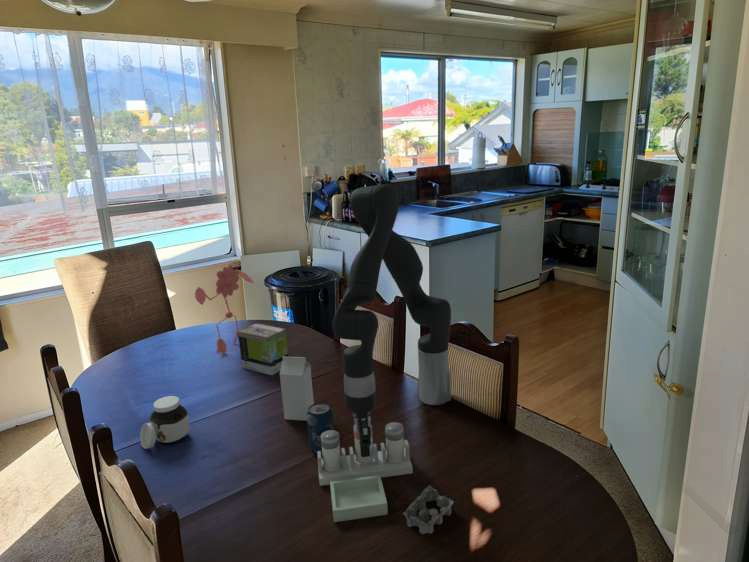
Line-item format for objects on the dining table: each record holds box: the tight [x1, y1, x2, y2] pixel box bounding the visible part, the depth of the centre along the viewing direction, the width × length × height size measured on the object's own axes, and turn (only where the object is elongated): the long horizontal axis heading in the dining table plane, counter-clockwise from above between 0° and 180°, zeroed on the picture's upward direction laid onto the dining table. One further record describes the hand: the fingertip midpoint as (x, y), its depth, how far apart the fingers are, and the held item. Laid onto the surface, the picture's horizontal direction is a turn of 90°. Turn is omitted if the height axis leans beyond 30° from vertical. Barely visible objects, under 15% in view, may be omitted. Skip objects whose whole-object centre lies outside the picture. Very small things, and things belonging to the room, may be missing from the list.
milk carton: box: [279, 356, 315, 422], centre depth 158 cm, size 7×7×19 cm
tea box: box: [237, 322, 289, 376], centre depth 193 cm, size 15×10×15 cm
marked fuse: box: [353, 423, 374, 463], centre depth 131 cm, size 5×5×9 cm
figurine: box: [194, 263, 254, 359], centre depth 205 cm, size 15×26×35 cm, turn 148°
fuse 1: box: [321, 429, 342, 473], centre depth 131 cm, size 5×5×9 cm
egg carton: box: [402, 484, 455, 535], centre depth 116 cm, size 11×8×4 cm
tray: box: [329, 475, 389, 523], centre depth 121 cm, size 12×10×3 cm
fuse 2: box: [384, 421, 405, 464], centre depth 133 cm, size 5×5×9 cm
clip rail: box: [316, 439, 414, 487], centre depth 133 cm, size 23×8×6 cm, turn 98°
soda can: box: [306, 402, 335, 455], centre depth 142 cm, size 7×7×12 cm
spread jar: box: [139, 395, 191, 450], centre depth 149 cm, size 12×11×12 cm
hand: (364, 449), depth 132 cm, fingers closed on marked fuse, 4 cm apart
